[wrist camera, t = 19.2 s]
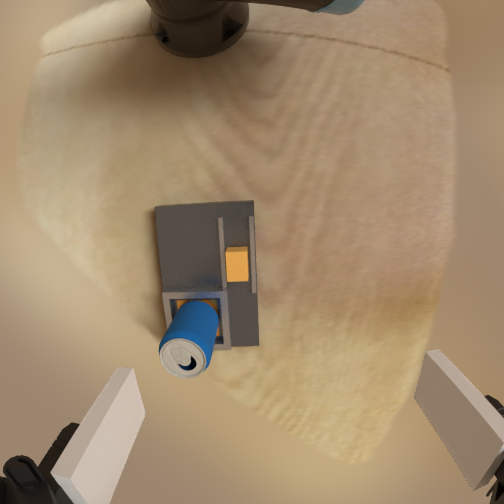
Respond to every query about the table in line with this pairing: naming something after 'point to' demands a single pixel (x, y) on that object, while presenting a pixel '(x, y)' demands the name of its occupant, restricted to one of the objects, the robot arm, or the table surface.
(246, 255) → the block
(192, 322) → the beverage can
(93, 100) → the table surface
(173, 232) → the panel
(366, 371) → the table surface
